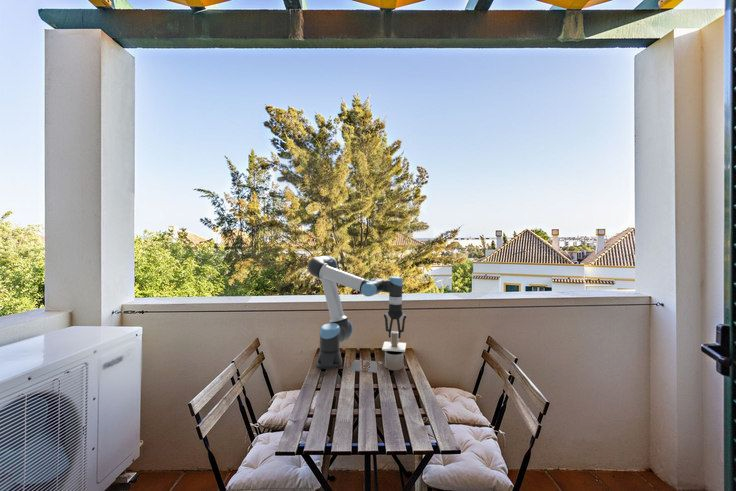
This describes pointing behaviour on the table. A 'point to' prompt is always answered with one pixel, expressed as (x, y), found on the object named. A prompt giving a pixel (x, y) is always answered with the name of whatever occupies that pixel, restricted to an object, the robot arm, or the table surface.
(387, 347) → the lid
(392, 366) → the planter
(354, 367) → the mat
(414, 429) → the table surface
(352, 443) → the table surface
